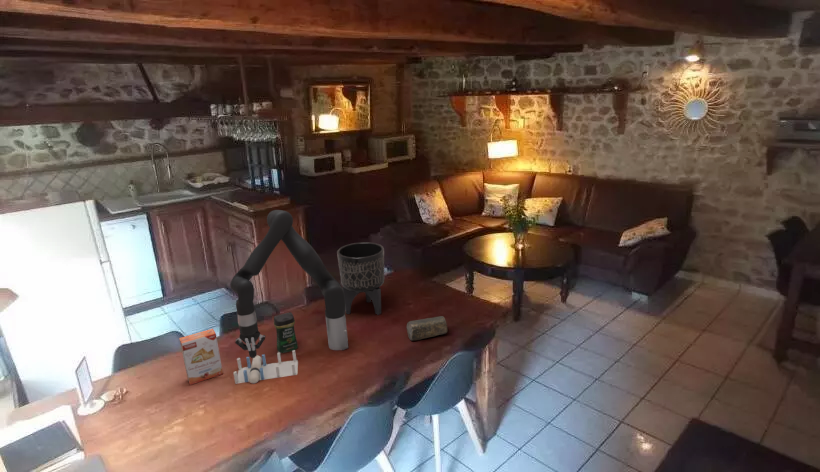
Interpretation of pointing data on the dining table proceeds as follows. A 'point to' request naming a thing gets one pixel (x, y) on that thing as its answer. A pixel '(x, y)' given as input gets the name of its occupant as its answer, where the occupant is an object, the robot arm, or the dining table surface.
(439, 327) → the stone block
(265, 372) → the white pegged rack
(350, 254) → the planter
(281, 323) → the coffee jar
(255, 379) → the banded cream tube
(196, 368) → the cracker box
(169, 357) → the dining table surface
